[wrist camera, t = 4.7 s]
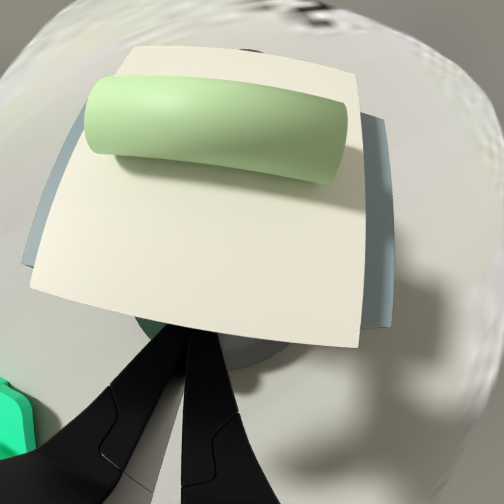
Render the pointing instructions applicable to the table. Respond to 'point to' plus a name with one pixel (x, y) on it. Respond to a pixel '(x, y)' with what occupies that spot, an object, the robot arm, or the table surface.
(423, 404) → the table surface
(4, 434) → the camera mount
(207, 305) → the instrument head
